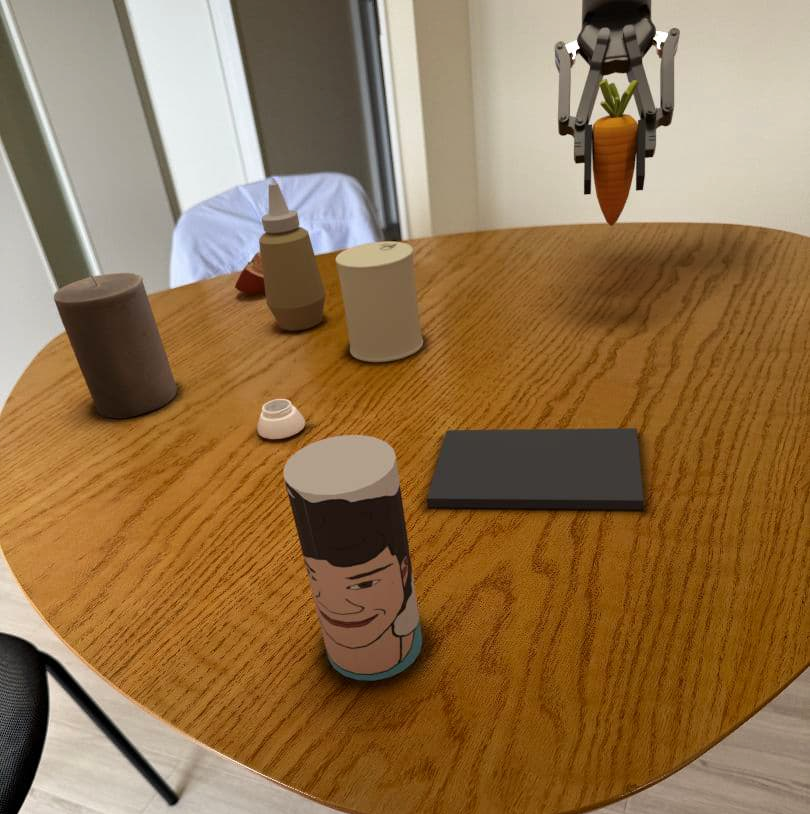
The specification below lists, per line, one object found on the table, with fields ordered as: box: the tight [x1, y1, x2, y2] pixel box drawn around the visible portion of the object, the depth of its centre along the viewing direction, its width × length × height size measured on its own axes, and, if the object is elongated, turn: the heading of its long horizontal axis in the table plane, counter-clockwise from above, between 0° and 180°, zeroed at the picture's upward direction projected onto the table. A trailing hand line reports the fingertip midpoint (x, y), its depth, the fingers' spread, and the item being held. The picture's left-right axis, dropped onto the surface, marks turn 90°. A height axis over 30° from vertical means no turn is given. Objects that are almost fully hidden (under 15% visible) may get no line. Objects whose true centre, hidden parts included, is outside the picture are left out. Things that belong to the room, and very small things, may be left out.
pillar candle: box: [53, 272, 178, 419], centre depth 89 cm, size 10×10×15 cm
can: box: [335, 240, 424, 363], centre depth 94 cm, size 9×9×12 cm
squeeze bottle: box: [258, 182, 326, 331], centre depth 102 cm, size 8×8×18 cm
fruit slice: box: [234, 251, 265, 295], centre depth 119 cm, size 8×7×5 cm
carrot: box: [591, 78, 639, 227], centre depth 86 cm, size 5×5×15 cm
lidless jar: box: [256, 398, 306, 440], centre depth 82 cm, size 5×3×5 cm
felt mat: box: [426, 427, 645, 511], centre depth 70 cm, size 18×12×1 cm, turn 79°
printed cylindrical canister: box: [283, 434, 423, 682], centre depth 51 cm, size 7×7×15 cm
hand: (613, 184), depth 85 cm, fingers closed on carrot, 5 cm apart
